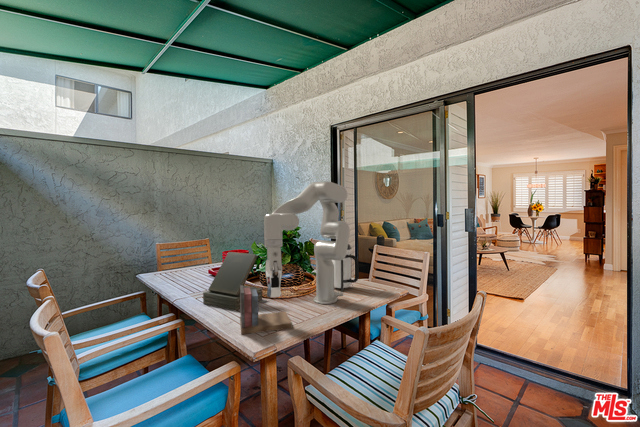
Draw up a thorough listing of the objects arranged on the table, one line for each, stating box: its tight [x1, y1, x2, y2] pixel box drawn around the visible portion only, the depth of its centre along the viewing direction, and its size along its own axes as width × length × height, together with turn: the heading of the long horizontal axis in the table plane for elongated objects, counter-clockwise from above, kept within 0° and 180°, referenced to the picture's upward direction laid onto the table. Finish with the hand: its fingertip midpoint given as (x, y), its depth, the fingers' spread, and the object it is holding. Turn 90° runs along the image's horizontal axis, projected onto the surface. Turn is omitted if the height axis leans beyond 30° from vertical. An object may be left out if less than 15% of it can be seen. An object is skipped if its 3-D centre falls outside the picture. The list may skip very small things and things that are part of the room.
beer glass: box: [264, 259, 283, 299], centre depth 126 cm, size 7×7×15 cm
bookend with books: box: [239, 285, 293, 335], centre depth 126 cm, size 20×14×16 cm
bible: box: [202, 251, 263, 312], centre depth 156 cm, size 23×20×25 cm
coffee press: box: [332, 243, 360, 293], centre depth 178 cm, size 17×16×30 cm
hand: (273, 284), depth 126 cm, fingers closed on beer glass, 6 cm apart
